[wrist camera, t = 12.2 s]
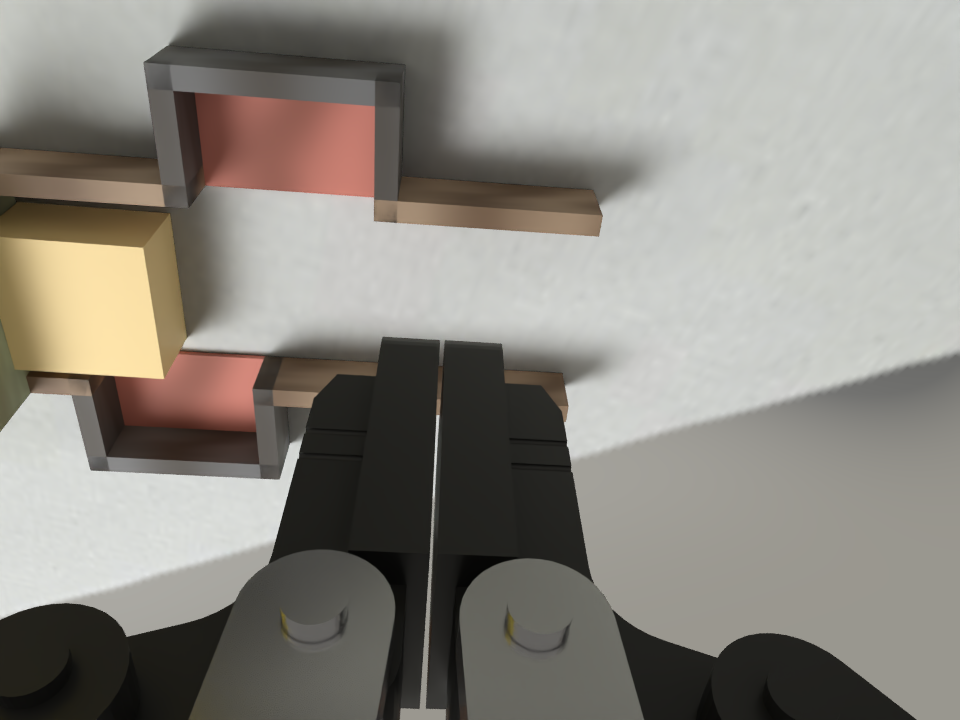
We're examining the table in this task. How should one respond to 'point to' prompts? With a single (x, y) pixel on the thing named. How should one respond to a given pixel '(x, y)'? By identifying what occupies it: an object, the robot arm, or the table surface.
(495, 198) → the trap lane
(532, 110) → the table surface
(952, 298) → the table surface
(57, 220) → the block
